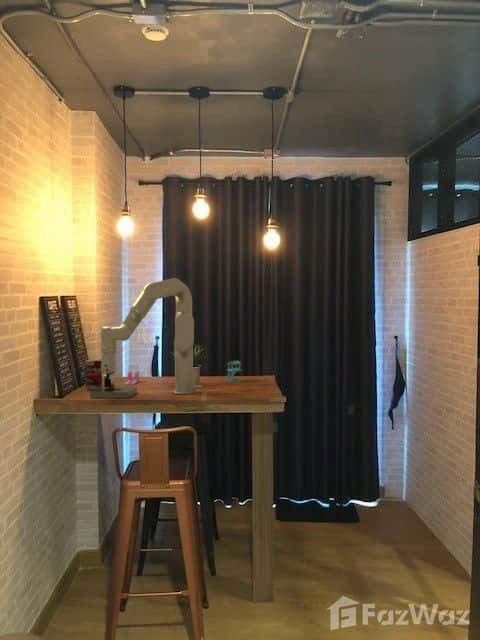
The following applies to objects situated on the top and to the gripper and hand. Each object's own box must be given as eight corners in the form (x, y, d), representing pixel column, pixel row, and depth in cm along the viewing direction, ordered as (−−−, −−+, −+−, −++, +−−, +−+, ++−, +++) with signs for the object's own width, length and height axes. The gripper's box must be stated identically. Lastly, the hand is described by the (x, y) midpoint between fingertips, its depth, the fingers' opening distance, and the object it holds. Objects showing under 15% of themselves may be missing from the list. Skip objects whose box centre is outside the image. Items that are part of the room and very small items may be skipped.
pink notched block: (129, 382, 304) (129, 370, 304) (138, 381, 304) (138, 370, 304) (123, 386, 291) (123, 373, 291) (133, 386, 291) (133, 373, 291)
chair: (225, 380, 304) (224, 360, 303) (238, 379, 307) (237, 359, 307) (230, 382, 297) (230, 362, 296) (243, 381, 300) (243, 361, 300)
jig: (136, 392, 271) (136, 387, 270) (128, 398, 257) (128, 392, 257) (100, 392, 272) (99, 386, 272) (90, 398, 259) (89, 392, 258)
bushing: (115, 386, 267) (115, 373, 266) (112, 388, 262) (112, 374, 261) (106, 386, 267) (106, 373, 267) (103, 388, 262) (102, 374, 262)
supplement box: (86, 390, 280) (85, 361, 279) (86, 388, 284) (85, 360, 283) (102, 389, 282) (101, 360, 281) (102, 387, 287) (101, 359, 286)
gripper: (107, 348, 272) (108, 382, 273) (95, 352, 255) (96, 388, 256) (121, 348, 272) (122, 382, 273) (110, 352, 255) (111, 388, 256)
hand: (109, 385), depth 264 cm, fingers closed on bushing, 5 cm apart
